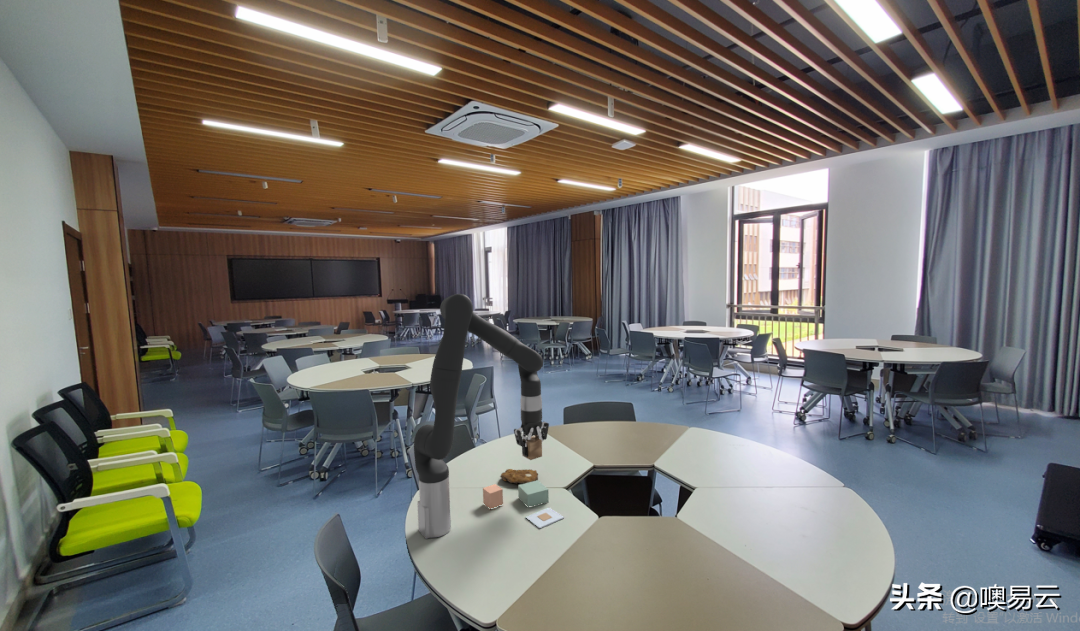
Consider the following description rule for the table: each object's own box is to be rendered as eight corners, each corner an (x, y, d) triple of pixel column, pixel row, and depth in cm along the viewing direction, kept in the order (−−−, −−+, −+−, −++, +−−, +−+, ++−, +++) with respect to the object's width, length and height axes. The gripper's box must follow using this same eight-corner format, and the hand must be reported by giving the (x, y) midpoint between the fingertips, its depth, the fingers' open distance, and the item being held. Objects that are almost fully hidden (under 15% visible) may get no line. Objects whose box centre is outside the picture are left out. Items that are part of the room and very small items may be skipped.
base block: (528, 508, 150) (527, 494, 149) (518, 498, 157) (518, 485, 156) (548, 502, 153) (548, 489, 153) (538, 493, 160) (537, 480, 160)
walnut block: (530, 460, 150) (530, 443, 150) (522, 455, 154) (522, 439, 154) (542, 456, 153) (541, 439, 153) (533, 452, 157) (533, 436, 157)
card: (539, 528, 137) (539, 527, 137) (525, 518, 143) (525, 516, 143) (564, 518, 143) (564, 516, 143) (549, 508, 149) (549, 506, 149)
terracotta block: (490, 510, 149) (490, 493, 148) (483, 504, 153) (482, 488, 152) (503, 505, 152) (502, 489, 151) (495, 500, 156) (495, 483, 155)
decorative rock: (498, 489, 165) (538, 490, 165) (498, 479, 164) (538, 479, 164) (501, 474, 176) (538, 475, 176) (501, 465, 176) (538, 465, 176)
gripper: (520, 413, 145) (521, 463, 146) (553, 405, 154) (554, 452, 155) (508, 408, 151) (509, 456, 153) (541, 401, 160) (542, 446, 161)
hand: (532, 454), depth 154 cm, fingers closed on walnut block, 5 cm apart
